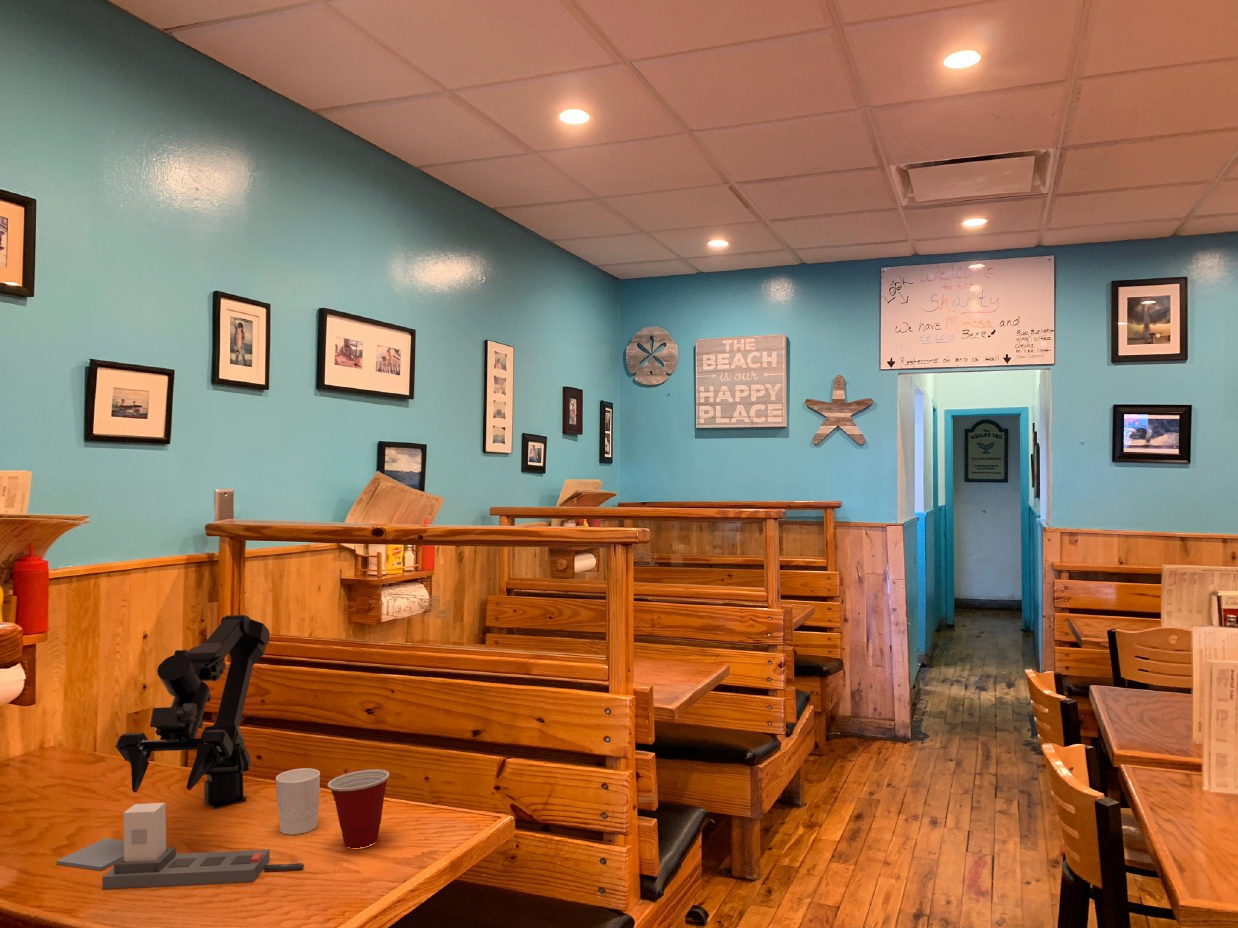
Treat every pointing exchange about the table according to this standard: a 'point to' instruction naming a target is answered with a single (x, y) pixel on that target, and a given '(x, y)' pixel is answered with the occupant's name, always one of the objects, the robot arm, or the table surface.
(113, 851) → the pad
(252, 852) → the power strip
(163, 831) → the block
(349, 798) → the plastic cup
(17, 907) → the table surface
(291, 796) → the white cup
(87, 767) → the table surface
